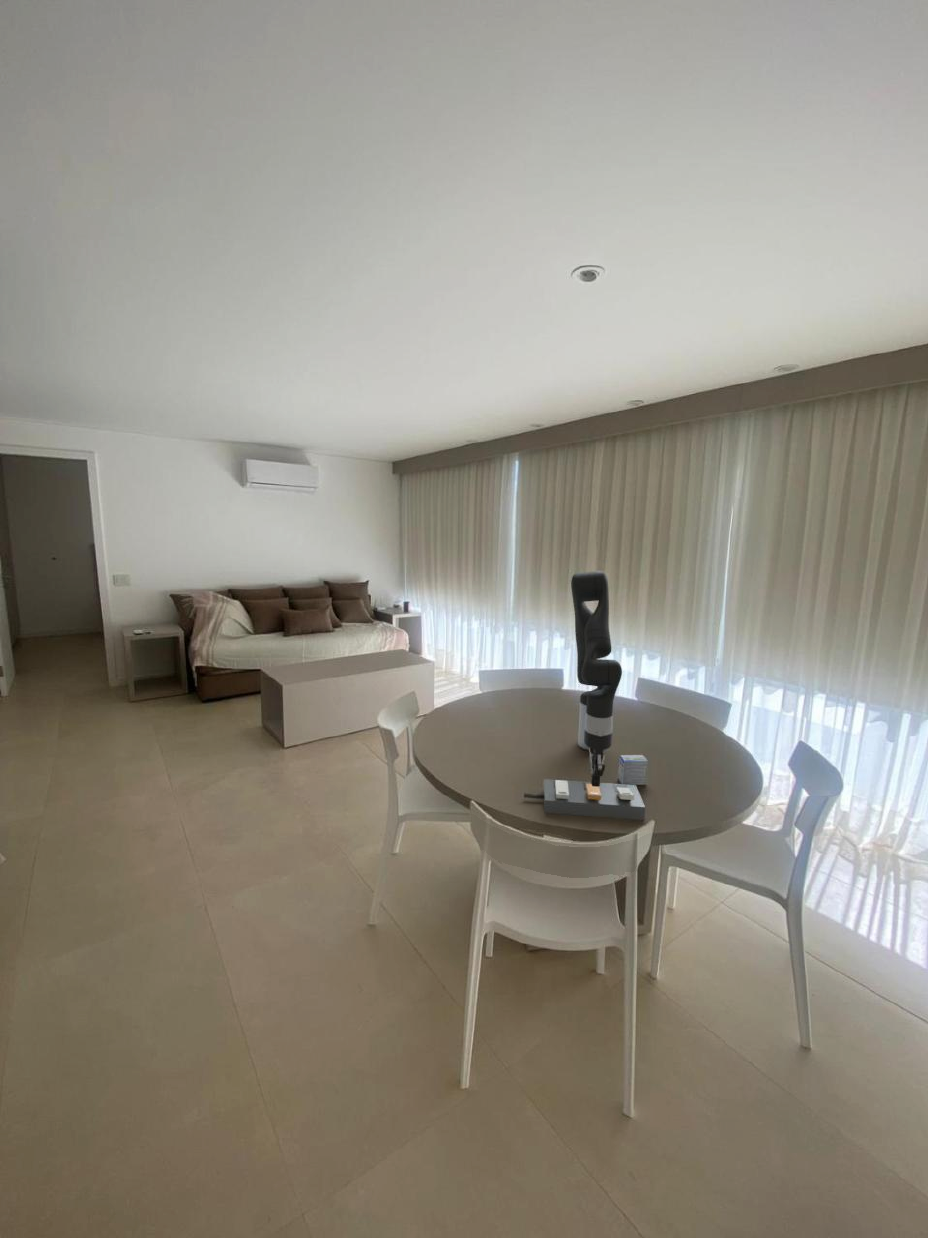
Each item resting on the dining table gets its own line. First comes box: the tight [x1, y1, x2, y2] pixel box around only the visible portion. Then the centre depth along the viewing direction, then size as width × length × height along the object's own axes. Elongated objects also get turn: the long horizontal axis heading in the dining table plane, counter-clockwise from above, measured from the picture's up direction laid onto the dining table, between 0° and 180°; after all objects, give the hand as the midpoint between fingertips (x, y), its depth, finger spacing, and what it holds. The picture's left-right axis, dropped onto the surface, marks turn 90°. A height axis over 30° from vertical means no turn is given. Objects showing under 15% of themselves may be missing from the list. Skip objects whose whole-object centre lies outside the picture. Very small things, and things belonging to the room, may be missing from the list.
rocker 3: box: [616, 787, 634, 800], centre depth 139 cm, size 6×4×2 cm, turn 173°
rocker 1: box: [554, 779, 569, 799], centre depth 141 cm, size 6×4×2 cm, turn 173°
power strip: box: [523, 778, 646, 821], centre depth 144 cm, size 12×34×5 cm, turn 83°
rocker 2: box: [586, 783, 601, 800], centre depth 140 cm, size 6×4×2 cm, turn 173°
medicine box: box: [617, 754, 649, 786], centre depth 156 cm, size 8×4×9 cm, turn 92°
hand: (595, 785), depth 137 cm, fingers closed
